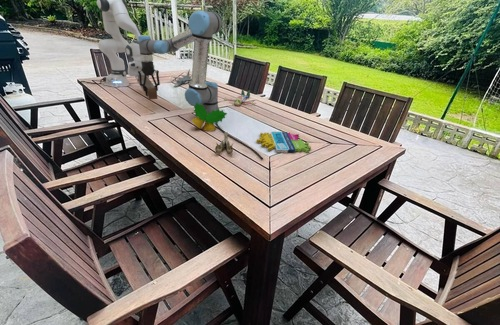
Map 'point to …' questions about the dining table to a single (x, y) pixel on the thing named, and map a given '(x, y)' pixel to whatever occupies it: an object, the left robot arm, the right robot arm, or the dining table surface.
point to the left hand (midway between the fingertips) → (142, 81)
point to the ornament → (207, 117)
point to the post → (149, 88)
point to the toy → (241, 99)
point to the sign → (283, 142)
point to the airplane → (183, 79)
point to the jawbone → (224, 145)
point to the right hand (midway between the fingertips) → (151, 95)
